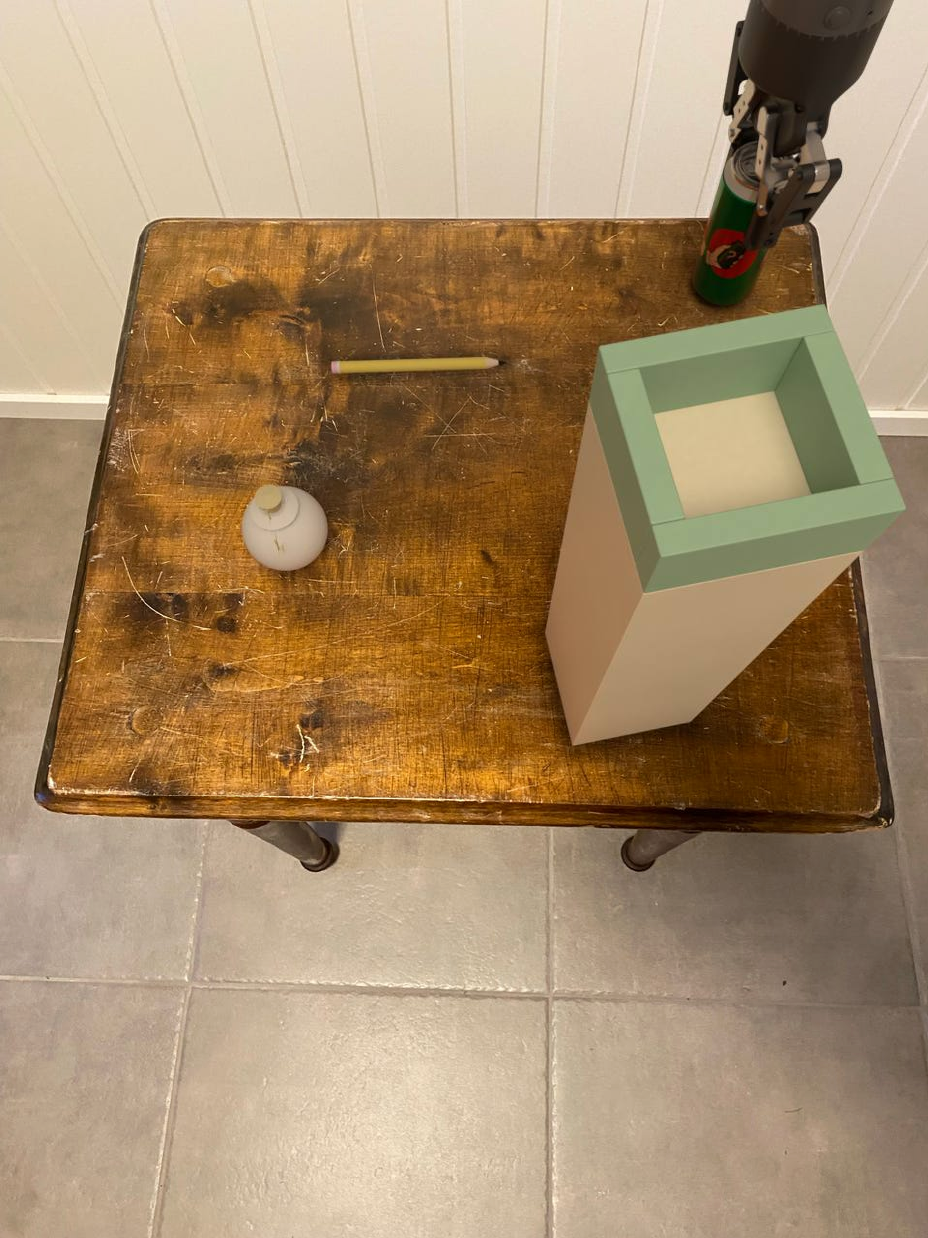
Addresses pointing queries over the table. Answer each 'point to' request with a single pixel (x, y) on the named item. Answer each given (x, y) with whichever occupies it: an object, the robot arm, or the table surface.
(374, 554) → the table surface
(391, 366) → the pencil
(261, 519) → the ornament
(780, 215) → the robot arm
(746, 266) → the soda can
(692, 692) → the holder
